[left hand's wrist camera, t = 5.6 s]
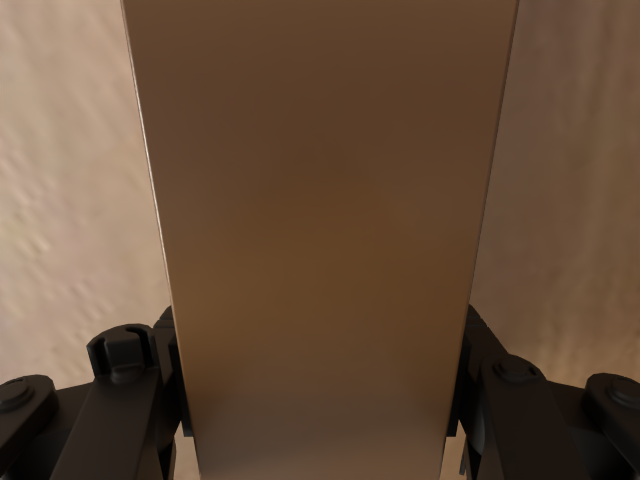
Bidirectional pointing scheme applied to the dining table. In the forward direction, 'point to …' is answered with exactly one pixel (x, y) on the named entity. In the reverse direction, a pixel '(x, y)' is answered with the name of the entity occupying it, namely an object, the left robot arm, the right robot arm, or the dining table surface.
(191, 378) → the beam
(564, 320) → the dining table surface
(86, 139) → the dining table surface
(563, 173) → the dining table surface
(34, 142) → the dining table surface
